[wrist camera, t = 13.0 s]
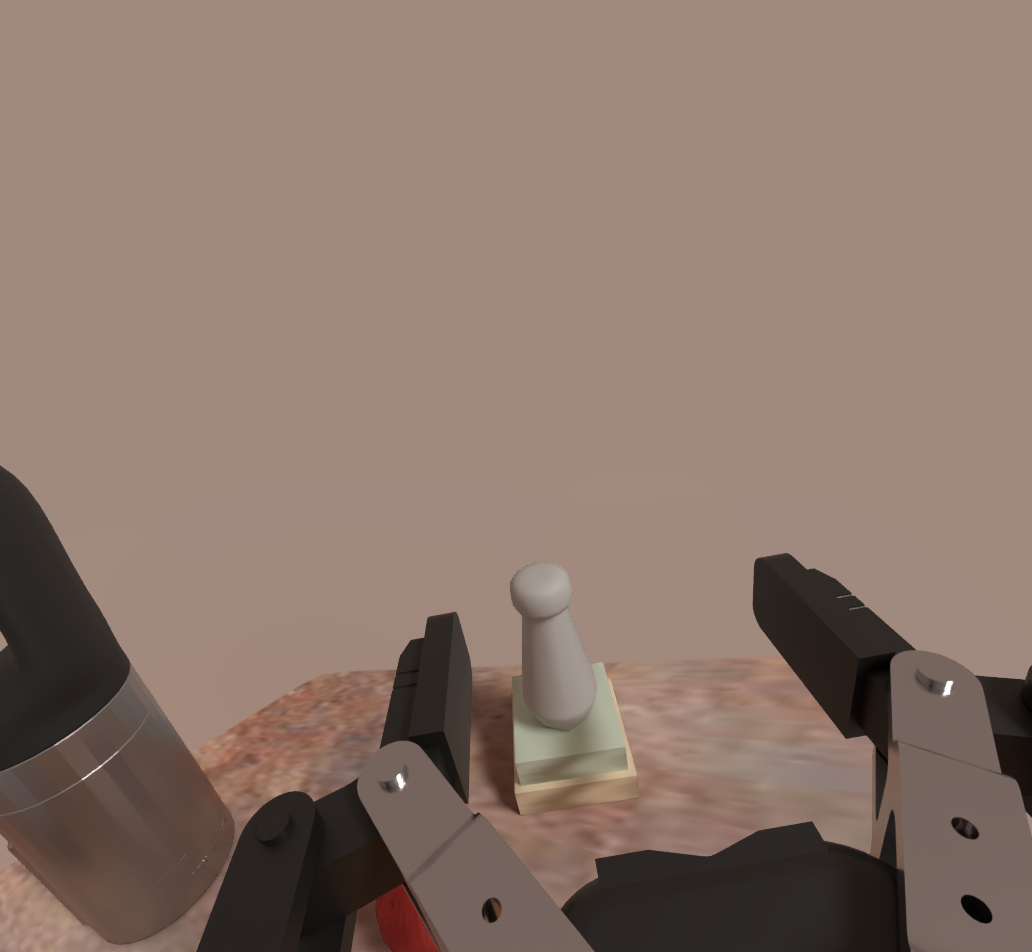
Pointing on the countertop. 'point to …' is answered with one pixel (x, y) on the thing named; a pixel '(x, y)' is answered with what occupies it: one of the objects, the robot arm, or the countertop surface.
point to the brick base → (578, 786)
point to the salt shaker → (552, 648)
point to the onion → (402, 923)
